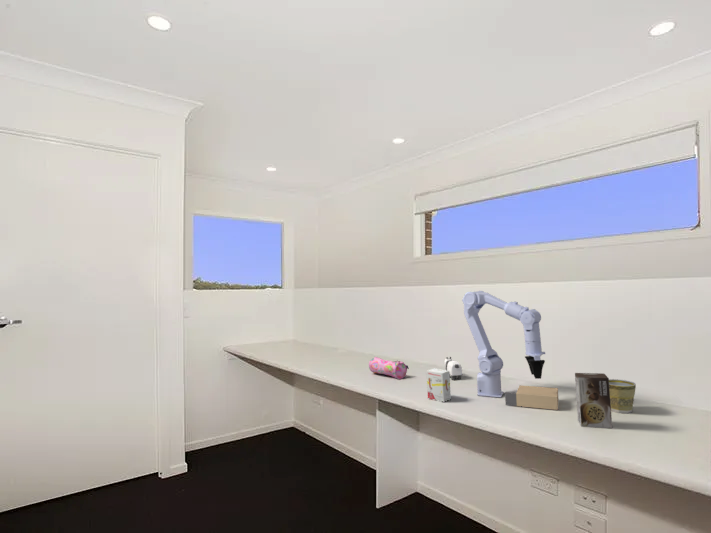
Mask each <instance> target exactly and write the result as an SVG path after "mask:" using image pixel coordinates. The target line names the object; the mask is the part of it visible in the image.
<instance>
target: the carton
mask: <svg viewBox="0 0 711 533" xmlns="http://www.w3.org/2000/svg"><path fill="white" fill-rule="evenodd" d="M516 393H522V394H534V395H546V396H557V404H558V405H559V388H558V387H549V386H548V387H547V386H546V387H545V386H544V387H543V386H533V385H522V384H521V385H520V384H519V386H518V388H517V390H516ZM531 408H532V409H534V408H533V407H531ZM541 409H543V408H541ZM551 410H553V411H554V409H551Z"/></svg>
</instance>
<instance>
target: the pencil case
mask: <svg viewBox="0 0 711 533" xmlns="http://www.w3.org/2000/svg"><path fill="white" fill-rule="evenodd" d="M368 368H369V371H370V372H371V373H373V374H380V375H381V374H382V375H386V376H390V377H392V378H396V379H398V380H402V379H404V378H405V376H406V375H407V372H408V370H409V365H407V364H406V363H405V362H403V361H401V360H398V359H397V360H386V359H383V358H380V357H378V356H374V357H373V358H372V359H370V360H369V362H368Z"/></svg>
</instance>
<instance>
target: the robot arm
mask: <svg viewBox="0 0 711 533" xmlns="http://www.w3.org/2000/svg"><path fill="white" fill-rule="evenodd" d="M461 301H462V304H463V314H464V318H465V320H466V322H467V324H468V328H469V330H470V332H471V335H472V337H473V340H474V342H475V345H476V347H477V350H478V352H479V353H478V356H477V360H478V368H479V370H480V372H477V375H476V381H477V382H476V385H477V386H476V387H477V396H482V397H491V398H502V396H503V394H505V391H502V376H501V370H502V369H503V368H504V361H503V359H502V358H501V357H500V356H499V354H498V352H497V351H496V350H494V349H493V348H492V346H491V343H490V340H489V338H488V336H487V333H486V329H485V328H484V325H483V324H482V321H481V318H480V317H479V313H480V311H481V309H482V308H483V307H484V306H485V305H486V304H488V305H490V306H493V307H495V308H497V309H500V310H502V311H504V313H505V315H507V316H509V317H510V318H513V319H516V320H517V321H520V322H521V324H522V326H523V332H524V336H523V337H524V343H525V344H524V345H525V346H524V347H525V355H526V356H525V355H524V358H525V360H526V362H527V364H528V367H529V371H530V373H531V375H533V377H534V379H537V380H538V379H542V374H543V368H544V365H545V363H546V360H544V359H541V357H542V355H546V351H542V350H543V349H542V341H541V340H542V339H541V338H542V337H541V331H540V322H541V320H542V316H541V312H539V311H538V310H536V309H535V308H534V309H533V308H531V309H530V308H529V306H523V305H521V304H519V303H518V301H509V302H506V301H504V300H502V299H500V298H498V297H497V296H495V295H493V294H491V293H489V292H485V291H483V290H477V291H475V290H474V291H467V292H465V294H464V296H463V297H462V300H461Z"/></svg>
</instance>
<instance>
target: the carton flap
mask: <svg viewBox="0 0 711 533" xmlns="http://www.w3.org/2000/svg"><path fill="white" fill-rule="evenodd" d="M504 397H505V399H504V400H505V406H514V407H521V406H522V407H521V408H525V407H526V408H532V407H533V408H532V409H542V408H543V409H544V410H552V409H554V410H555V411H558V410H559V403H558V404H557V396H546V395H534V394H522V393H517V392H507V391H504ZM554 410H553V411H554Z"/></svg>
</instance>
